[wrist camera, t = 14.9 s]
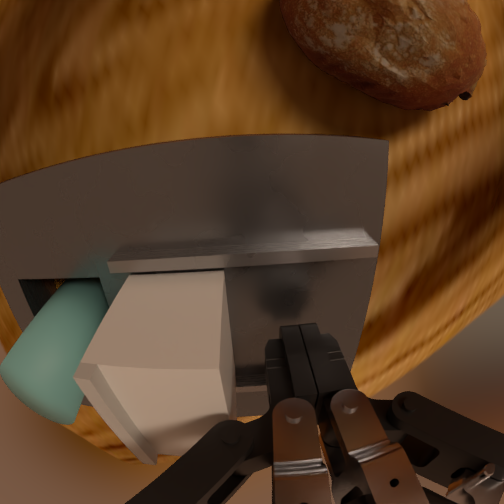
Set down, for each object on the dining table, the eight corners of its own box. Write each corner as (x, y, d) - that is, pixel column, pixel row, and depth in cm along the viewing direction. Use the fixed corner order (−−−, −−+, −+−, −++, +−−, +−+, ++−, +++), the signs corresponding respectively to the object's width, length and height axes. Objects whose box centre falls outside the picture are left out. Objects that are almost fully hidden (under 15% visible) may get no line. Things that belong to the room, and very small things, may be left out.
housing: (5, 180, 11) (-36, 199, 8) (357, 136, 12) (399, 142, 8) (79, 374, 18) (64, 408, 14) (328, 373, 18) (342, 413, 15)
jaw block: (129, 275, 11) (72, 377, 6) (224, 270, 11) (218, 388, 6) (161, 371, 13) (142, 463, 8) (235, 371, 13) (238, 469, 8)
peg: (60, 267, 14) (-14, 356, 6) (113, 264, 14) (42, 372, 7) (80, 320, 15) (30, 413, 8) (131, 322, 16) (90, 431, 8)
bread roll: (347, -25, 10) (335, -106, 2) (483, 56, 8) (536, -4, 1) (266, 61, 13) (206, -25, 6) (422, 163, 12) (500, 128, 4)
